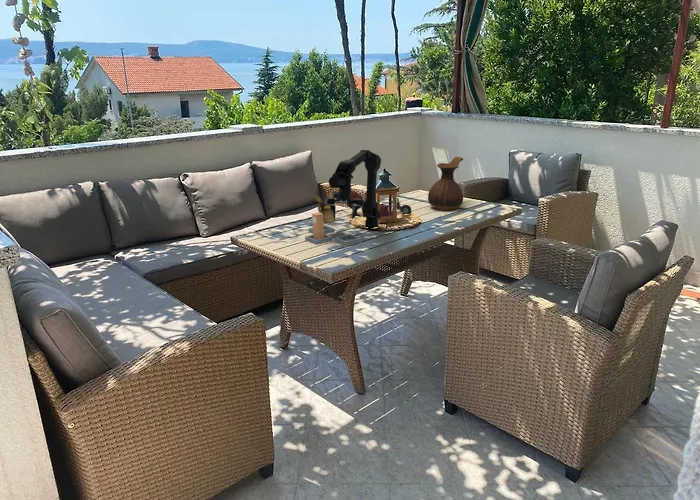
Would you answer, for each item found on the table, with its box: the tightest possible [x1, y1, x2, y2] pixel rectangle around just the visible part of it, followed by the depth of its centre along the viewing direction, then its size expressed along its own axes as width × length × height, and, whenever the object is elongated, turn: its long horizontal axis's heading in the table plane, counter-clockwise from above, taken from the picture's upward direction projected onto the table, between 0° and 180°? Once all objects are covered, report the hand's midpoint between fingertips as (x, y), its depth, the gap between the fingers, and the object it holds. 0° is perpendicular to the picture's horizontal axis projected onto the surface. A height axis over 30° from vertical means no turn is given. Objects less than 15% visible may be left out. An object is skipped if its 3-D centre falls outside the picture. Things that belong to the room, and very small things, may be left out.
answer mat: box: [328, 232, 347, 240], centre depth 289 cm, size 9×9×1 cm
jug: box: [427, 156, 464, 212], centre depth 335 cm, size 22×22×30 cm
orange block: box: [311, 211, 325, 240], centre depth 280 cm, size 4×4×14 cm
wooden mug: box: [312, 192, 336, 224], centre depth 315 cm, size 9×14×18 cm, turn 134°
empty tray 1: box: [307, 224, 336, 235], centre depth 296 cm, size 10×10×2 cm
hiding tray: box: [304, 234, 334, 246], centre depth 282 cm, size 10×10×2 cm
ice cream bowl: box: [346, 190, 365, 218], centre depth 326 cm, size 11×11×15 cm
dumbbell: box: [396, 197, 412, 215], centre depth 336 cm, size 9×22×10 cm, turn 8°
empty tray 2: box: [333, 233, 363, 247], centre depth 278 cm, size 10×10×2 cm
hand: (343, 218), depth 277 cm, fingers open, 9 cm apart
